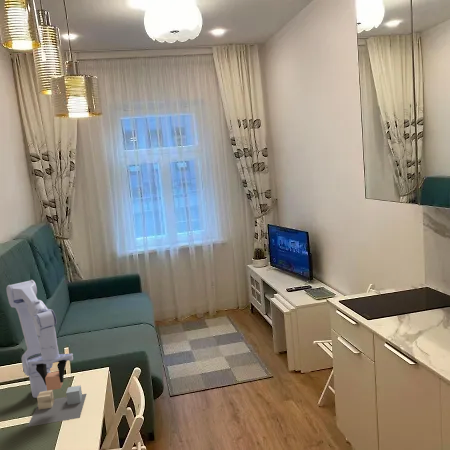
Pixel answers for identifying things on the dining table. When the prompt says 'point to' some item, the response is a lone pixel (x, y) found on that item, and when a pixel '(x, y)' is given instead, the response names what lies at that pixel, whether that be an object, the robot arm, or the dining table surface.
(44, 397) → the birch block
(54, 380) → the terracotta block
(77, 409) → the mat
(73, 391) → the slate block
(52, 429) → the dining table surface
